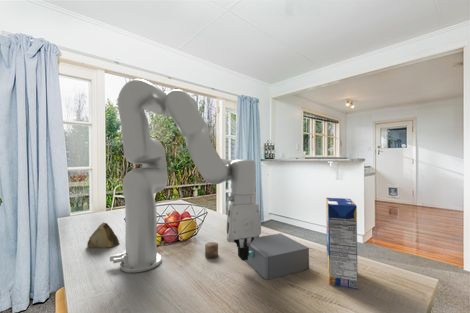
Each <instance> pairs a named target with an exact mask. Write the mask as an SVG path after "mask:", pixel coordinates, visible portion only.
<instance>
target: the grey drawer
mask: <svg viewBox="0 0 470 313" xmlns="http://www.w3.org/2000/svg"><path fill="white" fill-rule="evenodd" d="M245 262H246V263H247V264H248V265H249V266H250V267H252V269H253V270H254V271H255V272H257V273H258V275H260V277H262V278H263V279H264V280H269V279H268V256H267V255H266V254H264V253H263V252H262V251H260V250H259V249H257V248H256V247H255V246H253V245H252V244H251V245H250V246H249V256H248V260H245Z"/></svg>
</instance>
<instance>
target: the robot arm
mask: <svg viewBox="0 0 470 313" xmlns="http://www.w3.org/2000/svg"><path fill="white" fill-rule="evenodd" d="M117 107H118V108H117V109H118V115H119V121H120V127H121V139H122V148H123V155H124V158H125V159H126V161H127V162H128V163H131V164H134V165H141V166H142V167H138V168H134V169H131V170H129V171H128V172H126V174H125V175H124V177H123V178H122V183H121V186H122V187H121V188H122V192H123V197H124V198H123V199H124V207H125V209H124V211H125V216H124V217H125V249H124V252H122V251H121V253H118V254H117V253H116V254H110V255H109V262H112V263H113V264H118V263H119V268H120V270H121V271H123V272H125V273H132V274H134V273H141V272H146V271H149V270H152V269H154V268H156V267H157V266H159V265H160V264H161V263H162V257H163V256H162V255H161V253H158V252H157V247H158V246H157V242H158V239H157V237H158V236H157V234H158V232H157V226H158V225H157V224H158V222H157V217H158V216H157V213H158V212H157V203H156V199H155V196H154V194H156V193H160V192H162V191H163V190H165V188H166V186H167V185H168V179H169V176H168V175H169V174H168V167H167V158H166V157H167V156H166V150H165V148H164V146H163V144H162V142H160V141H159V140H158V139H156V138H153V137H151V133H150V132H151V131H150V125H149V124H150V123H149V120H148V117H147V115H146V113H145V110H148V111H150V112H152V113H155V114H158V115H160V116H161V115H162V116H165V117H170V118H171V120H172V121H173V122H174V124H175V126H176V127H177V129H178V131H179V132H180V134H181V135H182V137H183V139H184V141H185V145H186V148H187V151H188V153H189V156H190V159H191V160H192V162H193V164H194V165H195V167H196V169H197V170H198V172H199V174H200V175H201V177H202V178H203V180H205V181H206V182H207V183H209V184H211V185H219V184H222V183H224V182H229V181H231V182H230V183H231V193H230V196H227V199H226V201H227V202H230V203H229V205H228V209H227V217H226V234H227V235H226V241H227V242H228V243H235V244H236V246H237V245H238V247H237V255H238V256H237V257H239V259H240V260H241V261H243V262H244V261H245V260H248V256H249V246H250V245H251V242H252V241H253V240H254V239H256V238H258V237H260V236H261V233H262V220H261V211H260V206H259V205H260V204H259V203H258V202H257V200H256V196H257V194H256V189H257V188H256V186H257V185H256V184H257V183H256V178H257V174H256V173H257V172H256V171H257V169H256V168H257V167H256V166H257V165H256V161H254V160H253V159H247V158H246V159H242V158H241V159H225V158H222V157H221V156H220V155H219V153H218V152H217V150H216V148H215V147H214V144H213V143H212V141H211V137H210V135H209V132H210V131H209V130H210V129H209V126H208V124H207V122H206V121H205V119H204V117H203V116H202V114H201V113H200V111H199V105H198V103H197V101H196V100H195V99H194V98H193V97H192V96H191V95H190V94H188V93H187V92H186V91H184V90H183V89H172V90H169V92H167V91H163V90H162V89H160V88H159V87H158V86H156V85H154V84H153V83H152V82H149V81H147V80H145V79H140V78H135V79H131V80H129V81H128V82H126V83H125V84H124V85H123V87H122V88H121V89H120V91H119V93H118V98H117ZM243 239H244V240H243ZM245 262H246V261H245Z"/></svg>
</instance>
